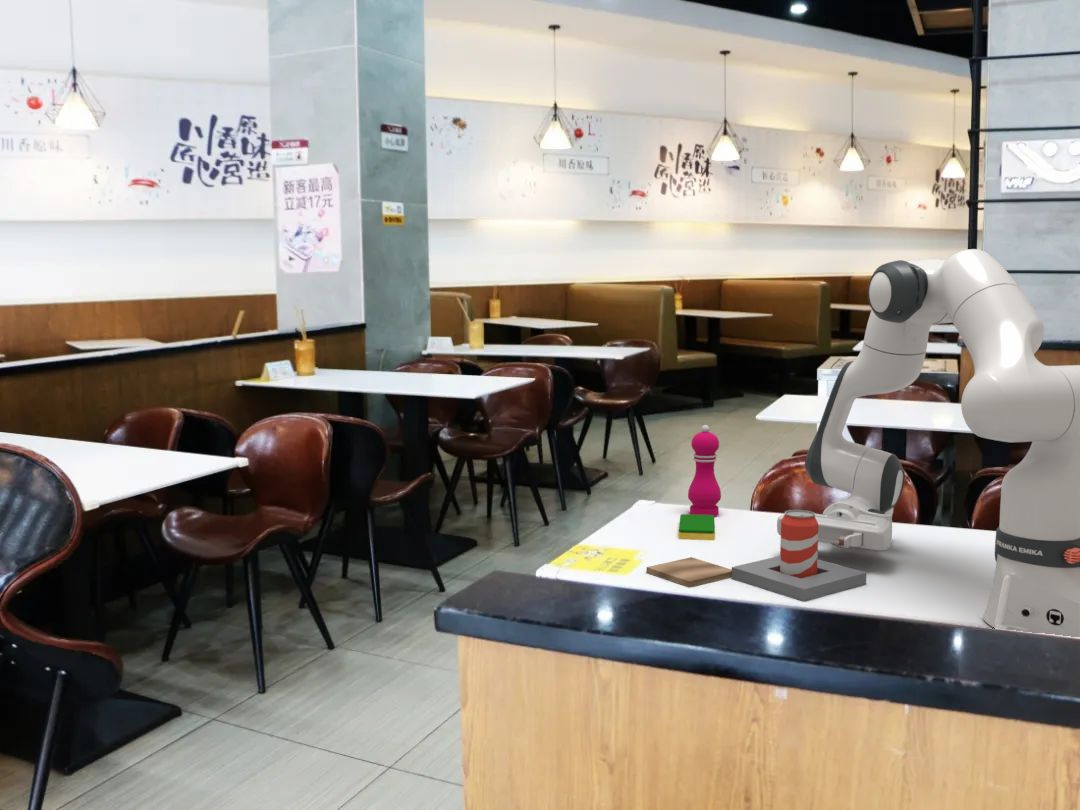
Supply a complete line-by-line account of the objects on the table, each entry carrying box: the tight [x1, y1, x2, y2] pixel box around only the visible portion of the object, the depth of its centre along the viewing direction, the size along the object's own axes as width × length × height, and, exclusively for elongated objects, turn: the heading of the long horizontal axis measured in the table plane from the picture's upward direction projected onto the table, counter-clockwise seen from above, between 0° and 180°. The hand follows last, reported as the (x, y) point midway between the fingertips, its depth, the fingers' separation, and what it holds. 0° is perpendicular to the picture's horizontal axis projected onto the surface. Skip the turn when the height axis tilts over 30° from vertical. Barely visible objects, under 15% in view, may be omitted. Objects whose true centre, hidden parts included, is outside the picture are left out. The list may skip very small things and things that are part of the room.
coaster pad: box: [645, 556, 732, 588], centre depth 182 cm, size 11×11×1 cm
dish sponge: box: [678, 513, 716, 541], centre depth 213 cm, size 7×14×2 cm, turn 171°
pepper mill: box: [687, 424, 722, 518], centre depth 227 cm, size 7×7×20 cm
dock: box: [730, 555, 867, 602], centre depth 178 cm, size 16×16×2 cm
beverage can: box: [779, 509, 819, 578], centre depth 177 cm, size 6×6×12 cm
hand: (816, 538), depth 183 cm, fingers open, 8 cm apart
